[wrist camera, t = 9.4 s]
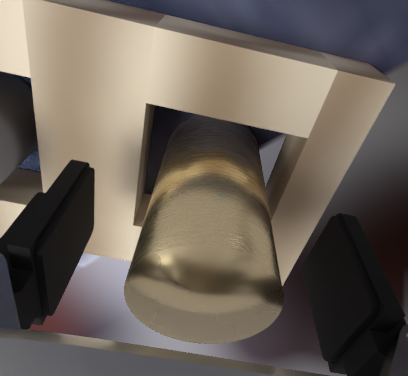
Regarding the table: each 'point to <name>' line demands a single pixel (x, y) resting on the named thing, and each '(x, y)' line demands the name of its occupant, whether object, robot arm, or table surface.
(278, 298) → the gold metallic cylinder
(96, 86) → the jig
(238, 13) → the table surface
